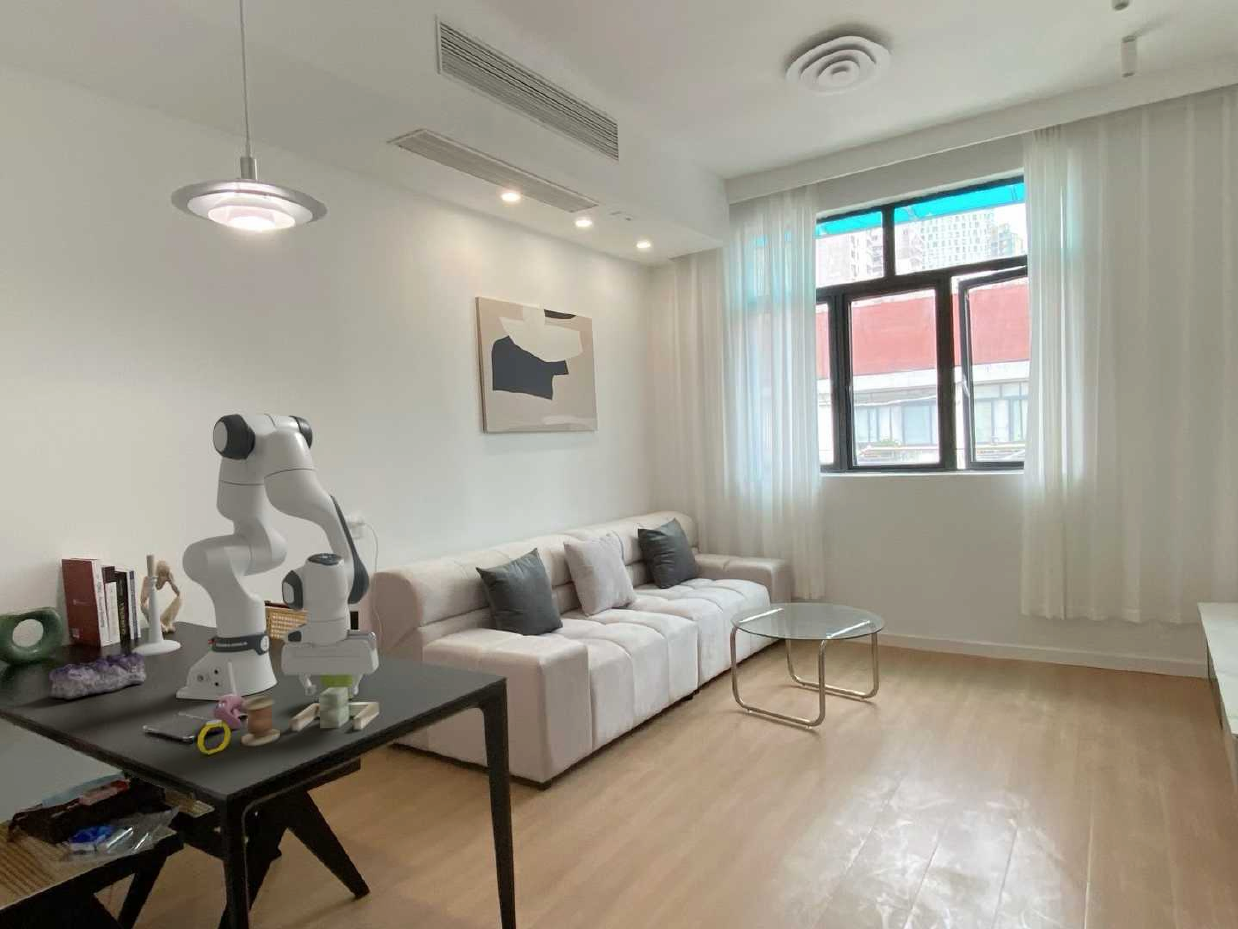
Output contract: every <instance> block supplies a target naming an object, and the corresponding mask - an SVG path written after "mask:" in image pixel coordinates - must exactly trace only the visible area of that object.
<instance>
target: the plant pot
mask: <svg viewBox="0 0 1238 929" xmlns="http://www.w3.org/2000/svg"><path fill="white" fill-rule="evenodd" d="M319 676H320V681H321V685H322V689H323V692H324V691H326V690H327V689H328V688H337V687H347V689H348V687H349V686H350V685H351V684H353V683H354V681H355V679H352V675H319ZM348 692H349V691H348ZM353 698H354V695H349V694H348V701H349V700H350V699H353Z"/></svg>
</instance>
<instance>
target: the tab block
mask: <svg viewBox="0 0 1238 929" xmlns="http://www.w3.org/2000/svg"><path fill="white" fill-rule="evenodd" d="M318 703H319V709H320V717H319V720H320V722H319V723H320V725H319V726H320V729H339V728H341V727H342V726H343V725H344V724H345V723H347V722H348V721H349V720H350V716H349V707H348V703H349V700H348V689H347V687H337V688H328V689H327V690H326V691H324V690H323V692H321V693H320V694H319V695H318Z"/></svg>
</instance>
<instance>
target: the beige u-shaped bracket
mask: <svg viewBox="0 0 1238 929" xmlns="http://www.w3.org/2000/svg"><path fill="white" fill-rule="evenodd" d="M348 707H349V717H353V729H354V731H355V730H356V731H358V730H359V731H361V730H363V729H364V728H365V727H366V726H367V725H368V724H369V723H370V722H371V721H372V720H373V719H374V718H376V717H377V716H378V715H379V714H380V704H379V701H362V702H359V701H358V702H357V701H355V702H351V701H350V702H348ZM318 717H319V718H320V709H319V702H313V703H312V704H310V705H309V706H307V707H306V708H305V709H303V710H302V711H301V712H299V713H298V714H296V715H295V716H294V717H293V718H291V721H290V722H291V731H292V732H300V731H301V730H303V729H304V728H305V727H306V726H307V725H308V724H310V723H312V722H313V720H315V719H316V718H318Z"/></svg>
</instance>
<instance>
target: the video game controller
mask: <svg viewBox="0 0 1238 929" xmlns="http://www.w3.org/2000/svg"><path fill="white" fill-rule="evenodd" d="M245 700H246V699H245V698H244V697H243V696H237V694H234V696H233V695H230V696H227V697H225V698H223V699H221V700H218V702H217V703H216V706H215V707H214V708H213V710H212V711H213V712H212V715H213V717H214V718H215V719H214V720H222V723H224V724H226V725H228V727H229V728H230V729H232V730H240V728H241V727H242V725H243V724H242V721H241V720H240V718H239V719H238V716H239V715H240V716H241V713H242V714H244V713H245V714H244V715H247V709H243V708H242V703H243V702H244V701H245Z"/></svg>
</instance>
